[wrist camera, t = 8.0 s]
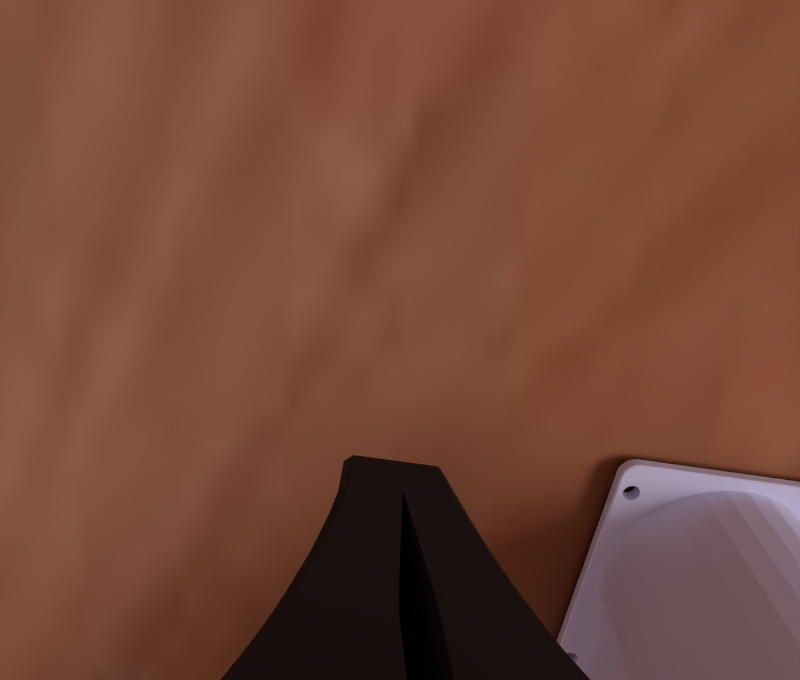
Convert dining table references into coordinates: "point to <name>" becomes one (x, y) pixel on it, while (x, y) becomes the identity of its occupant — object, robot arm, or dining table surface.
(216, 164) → the dining table surface
